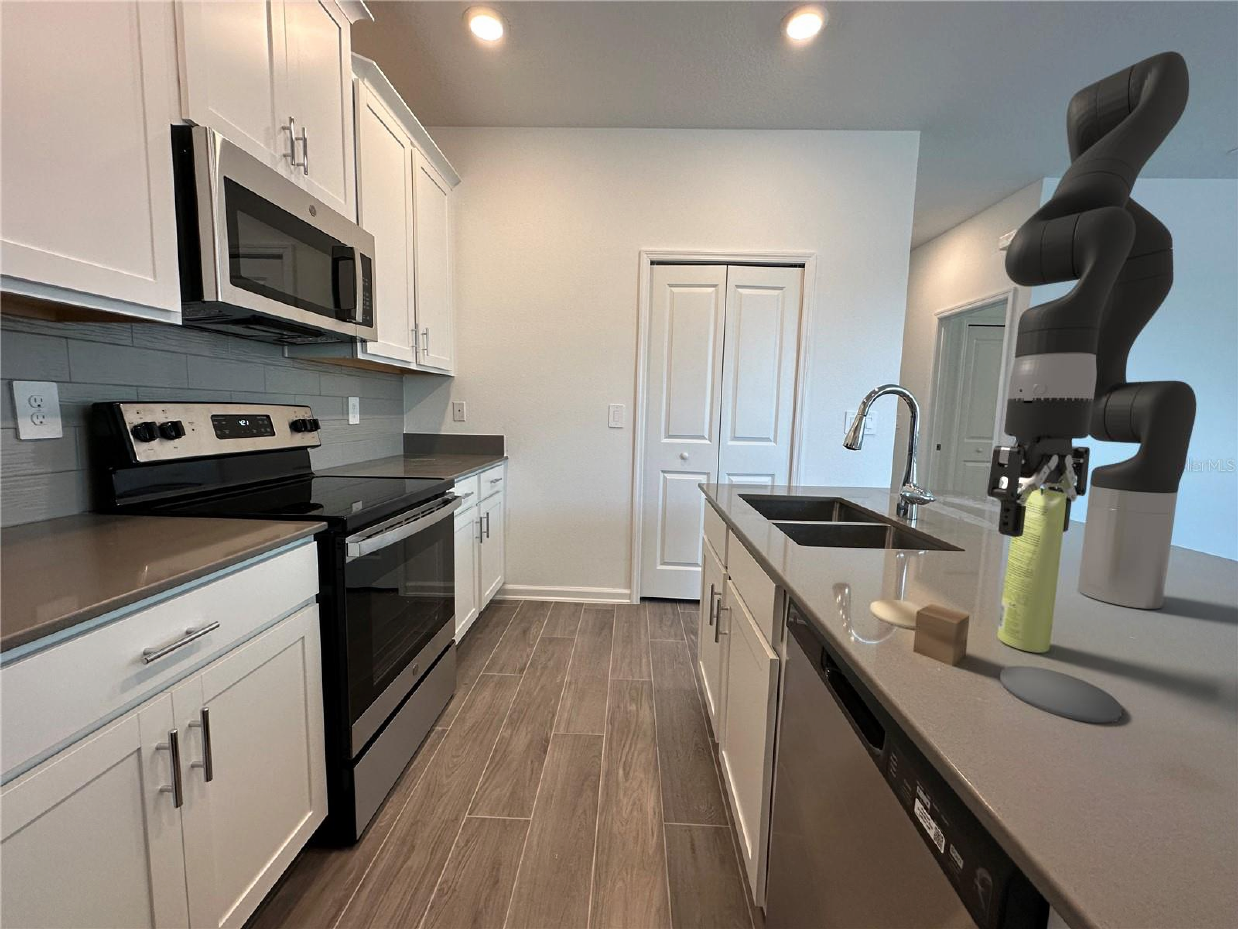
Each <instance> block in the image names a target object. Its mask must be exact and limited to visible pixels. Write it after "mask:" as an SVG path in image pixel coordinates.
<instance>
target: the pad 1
mask: <svg viewBox="0 0 1238 929" xmlns="http://www.w3.org/2000/svg"><path fill="white" fill-rule="evenodd" d="M926 606H927V605H923V604H920V603H915V602H912V601H907V600H906V601H905V600H900V599H879V600H875V601H873V602H871V604H870V608H869V609H870V610H869V611H870V613H871V615H873V616H874V617H876V619H878V620H881V621H883V622H885V623H887V624H890V625H893V626H895V627H898V628H899V627H900V628H903V629H904V628H905V629H909V630H914V631H915V626H916V614H917V611H918V610H920V609H922V608H924V607H926Z"/></svg>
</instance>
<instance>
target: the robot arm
mask: <svg viewBox="0 0 1238 929" xmlns="http://www.w3.org/2000/svg"><path fill="white" fill-rule="evenodd" d="M1189 94H1190V76H1189V70H1188V65H1187V62H1186V60H1185V58H1184V56H1182V55H1181V54H1180V53H1179V52H1177V51H1172V50H1169V51H1165V52H1160V53H1157V54H1155V55H1152V56H1150V57H1147V58H1144V59H1142V60H1140V61H1139V62H1137V63H1134V64H1132V65H1130V66H1128V67H1127V66H1126V67H1125V68H1123V69H1121V70H1119V71H1116V72H1114V73H1113V74H1111V75H1108V76H1106V77H1104V78H1102V79H1099V80H1098V81H1095V82H1094V83H1091V84H1090V85H1087V86H1086V87H1084V88H1082V89H1080V90H1078V91H1077V92H1076V93H1075V94H1073V96H1072V97H1071V99H1070V101H1069V104H1068V107H1067V112H1066V135H1067V144H1068V151H1069V158H1070V164H1071V165H1069V167H1068V168H1067V170H1066V171H1065V172H1064V174H1063V175H1062V177H1061V179H1060V180H1059V182H1058V183H1057V186H1056V188H1055V191H1054V192H1053V195H1052V196H1051V197H1050V198H1051V199H1049V200H1048V201H1047V202H1046V203H1044V204H1043V205H1042V206H1041V207H1040V208H1039V209H1038V210H1037V211H1036V212H1034V214H1032V215H1031V216H1030V217H1029V218H1028V219H1027V220H1025V222H1024V223H1023V224H1022V225H1021V226H1020V227H1019V228H1018V230H1016V232H1015V234H1014V236H1013V237H1012V239H1011V241H1010V243H1009V245H1008V247H1007V250H1006V253H1005V259H1004V268H1005V272H1006V274H1007V276H1008V277H1009V280H1011V281H1012V282H1013V283H1014V284H1016V285H1019V286H1021V287H1025V288H1026V287H1029V288H1032V287H1039V286H1046V285H1052V284H1053V285H1054V284H1059V283H1066V282H1072V281H1077V283H1076V284H1075V285H1074V287H1072V289H1071V290H1070V291H1069V292H1067V293H1066V294H1065V295H1063V296H1061V297H1059V298H1057V299H1054V300H1051V301H1047V302H1043V303H1040V304H1037V305H1035V306H1031V307H1029V308H1027V309H1026V310H1025V311H1023V312H1022V314H1021V315H1020V317H1019V320H1018V325H1017V333H1016V334H1017V335H1016V343H1015V352H1014V361H1013V365H1012V368H1011V372H1010V377H1009V383H1008V392H1007V393H1008V394H1007V399H1006V400H1007V403H1006V413H1005V421H1004V434H1005V435H1006V436H1007V437H1008V436H1009V437H1014V438H1015V441H1014V443H1013V444H1014V445H996V446H994V447H993V451H992V458H991V465H990V472H989V478H988V485H987V491H986V493H987V496H988V497H989V498H995V499H996V500H997V501H998V502H1000V509H999V518H998V519H999V520H998V532H999V534H1001V535H1003V536H1009V537H1011V536H1012V537H1020V536H1022V535H1023V530H1024V521H1025V512H1026V506H1024V504H1025V503H1026V501H1027V500H1028V498H1029V496H1030V495H1031V493H1032V492H1033V491H1035V490H1038V489H1039V488H1042V487H1043V489H1048V490H1052V491H1056V492H1061V493H1066V494H1067V497H1066V508H1065V517H1064V527H1063V533H1066V532H1067V531H1068V530H1069V528H1070V527H1069V526H1070V518H1071V511H1072V509H1071V508H1072V503H1073V502H1076V500H1077V497H1079V496H1080V497H1084V496H1085V495H1086V494H1087V488H1088V476H1089V466H1090V455H1091V449H1090V447H1089V446H1075V445H1073V440H1074V439H1079V440H1082V439H1086V438H1088V437H1089V436H1090V437H1091V438H1092V439H1093V440H1095V441H1099V442H1106V443H1120V444H1121V443H1122V444H1139V447H1138V450H1137V452H1136V453H1135V455H1134V456H1131V457H1130V458H1128V459H1125V460H1123V461H1119V462H1115V463H1110V464H1104V465H1099V466H1096V467H1095V468H1093V469H1092V471H1091V474H1090V479H1089V489H1088V498H1087V506H1086V514H1085V515H1086V516H1085V524H1084V532H1083V540H1082V541H1083V542H1082V549H1081V556H1080V557H1081V558H1080V568H1079V576H1078V584H1077V591H1078V592H1079V593H1081V594H1083V595H1085V596H1086V597H1089V598H1092V599H1095V600H1098V601H1101V602H1105V603H1109V604H1115V605H1119V606H1123V607H1130V608H1135V609H1136V608H1137V609H1149V610H1150V609H1160V608H1162V607H1163V605H1164V604H1163V603H1164V596H1165V590H1166V582H1167V575H1168V568H1169V559H1170V554H1171V546H1172V539H1173V530H1174V523H1175V516H1176V509H1177V508H1176V506H1177V500H1178V494H1179V493H1178V492H1179V487H1180V482H1181V480H1182V476H1183V474H1184V471H1185V468H1186V463H1187V457H1188V452H1189V448H1190V442H1191V438H1192V434H1193V430H1194V424H1195V421H1196V415H1197V397H1196V393H1195V392H1194V389H1193V387H1192V386H1190V385H1189V384H1188V383H1187V382H1184V381H1181V380H1152V381H1150V380H1149V381H1146V380H1145V381H1128V382H1127V365H1128V359H1129V355H1130V352H1131V349H1132V347H1133V346H1134V343H1135V342H1136V340H1137V338H1138V337H1139V335H1140V334H1141V332H1142V331H1143V329H1144V328H1145V327H1146V326H1147V324H1148V323H1149V322H1150V321H1151V320H1152V318H1153V316H1155V314H1156V313H1157V311H1158V310H1159V309H1160V308H1161V306H1162V304H1163V303H1164V302H1165V300H1166V298H1167V297H1168V295H1169V293H1170V291H1171V289H1172V287H1173V284H1174V249H1173V246H1174V245H1173V244H1174V243H1173V237H1172V233H1171V232H1170V230H1169V229H1168V228H1167V226H1166V225H1165V224H1164V223H1163V222H1162V221H1161V220H1160V219H1159V218H1157V217H1156V216H1155V215H1154V214H1153V213H1152V212H1150V211H1148V210H1147V209H1146V208H1145V207H1144V206H1142V205H1141V204H1139V202H1137V201H1136V200H1135V199H1133V198H1132V197H1131V196H1130V195H1131V193H1132V191H1133V188H1134V186H1135V183H1136V182H1137V178H1138V176H1139V174H1140V173H1141V171H1142V170H1143V168H1144V166H1145V165H1146V164H1147V162H1148V161H1150V158H1152V156H1154V153H1155V152H1156V151H1157V150H1158V148H1159V147H1161V145H1162V144H1163V142H1164V141H1165V140H1166V138H1167V137H1168V136H1169V135H1170V133H1171V132H1172V130H1173V129H1174V128H1175V127H1176V125H1177V124H1178V122H1179V121H1180V119H1181V118H1182V117H1183V114H1184V112H1185V110H1186V107H1187V103H1188V101H1189V100H1188V99H1189ZM1001 481H1002V482H1003V484H1002V486H1000V482H1001ZM1075 484H1076V485H1075ZM1041 486H1042V487H1041ZM1020 488H1021V489H1020ZM1019 490H1020V491H1019Z"/></svg>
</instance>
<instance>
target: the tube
mask: <svg viewBox="0 0 1238 929" xmlns="http://www.w3.org/2000/svg"><path fill="white" fill-rule="evenodd" d="M1020 489H1021V488H1019V489H1018V492H1019V491H1020ZM1066 497H1067V494H1066V493H1061V492H1056V491H1052V490H1048V489H1044V487H1043V488H1042V487H1040V488H1039V489H1038V490H1035V491H1033V492H1032V493H1031V495H1030V496H1029V498H1028V500H1027V501H1026V503H1025V504H1024V506H1026V512H1025V521H1024V530H1023V535H1022V536H1020V537H1012V536H1010V542H1009V543H1010V544H1009V550H1008V558H1007V564H1006V571H1005V579H1004V586H1003V591H1002V599H1001V606H1000V607H1001V608H1000V613H999V621H998V622H999V623H998V629H997V637H998V639H999V640H1000V642H1002V643H1003V644H1005V645H1007V646H1010V647H1012V648H1015V649H1018V650H1021V651H1025V652H1029V653H1038V654H1039V653H1046V652H1048V651H1050V647H1051V646H1050V645H1051V640H1052V639H1051V637H1052V631H1053V623H1054V622H1053V621H1054V613H1055V602H1056V594H1057V590H1058V589H1057V587H1058V579H1059V570H1060V560H1061V553H1062V544H1063V535H1064V534H1063V533H1064V532H1063V527H1064V517H1065V508H1066Z"/></svg>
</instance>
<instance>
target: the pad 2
mask: <svg viewBox="0 0 1238 929" xmlns="http://www.w3.org/2000/svg"><path fill="white" fill-rule="evenodd" d="M999 674H1000V675H999V682H1000V683H1001V685H1002V686H1003V688H1004V689H1005V690H1006V691H1007V692H1009V693H1010V694H1011V695H1013V696H1014V697H1015V698H1017V699H1019V700H1020V701H1023V702H1024V703H1027V704H1028V705H1031V706H1033V707H1035V708H1037V709H1040V710H1042V711H1045V712H1047V713H1050V714H1053V715H1056V716H1059V717H1063V718H1066V719H1069V720H1070V719H1071V720H1073V721H1081V722H1085V723H1093V724H1095V723H1096V724H1108V722H1110V723H1114V722H1116V721H1115V720H1117V719H1118V720H1120V718H1121V716H1120V715H1122V706H1121V704H1120V703H1119V700H1117V699H1116V698H1115V697H1113V695H1111V694H1110V693H1108V692H1107V691H1105V690H1103V689H1102V688H1100V687H1098V686H1096V685H1094V684H1092V683H1090V682H1088V681H1086V680H1083V679H1081V678H1077V677H1075V676H1071V675H1069V674H1066V673H1063V672H1060V671H1056V670H1052V669H1048V668H1043V667H1037V666H1028V665H1011V666H1007V667H1004V668H1003V669H1002V670H1001V671H1000V673H999ZM1119 717H1120V718H1119ZM1118 720H1117V721H1118ZM1113 721H1114V722H1113Z"/></svg>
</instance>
